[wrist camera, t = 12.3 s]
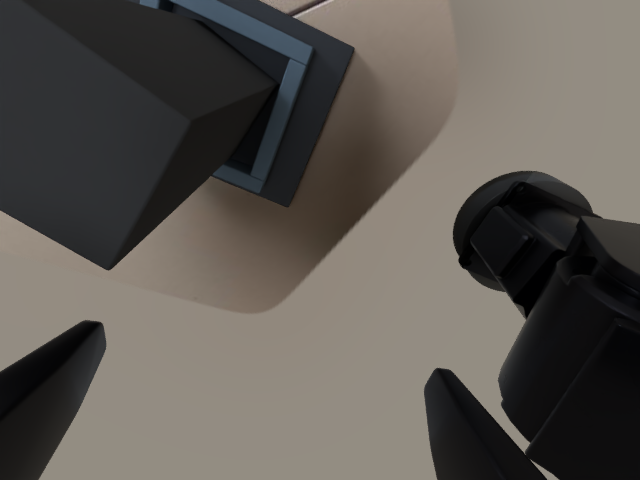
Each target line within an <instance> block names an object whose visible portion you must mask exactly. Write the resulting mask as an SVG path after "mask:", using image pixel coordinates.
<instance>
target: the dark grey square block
mask: <svg viewBox="0 0 640 480" xmlns="http://www.w3.org/2000/svg"><path fill="white" fill-rule="evenodd" d="M278 85H279V83H278V82H277V81H276V80H275V79H273V78H272V77H271V76H270V75H268V74H267V73H266V72H265V71H263V70H262V69H261V68H260V67H258V66H257V65H256V64H255V63H253V62H252V61H251V60H250V59H248V58H247V57H246V56H245V55H243V54H242V53H241V52H240V51H238V50H237V49H236V48H235V47H233V46H232V45H231V44H230V43H228V42H227V41H226V40H225V39H223V38H222V37H221V36H220V35H219V34H217V33H216V32H215V31H214V30H212V29H211V28H210V27H209V26H207V25H206V24H205V23H204V22H202V21H200V20H196V19H193V18H189V17H185V16H182V15H178V14H174V13H171V12H167V11H163V10H159V9H156V8H152V7H148V6H145V5H141V4H137V3H134V2H130V1H126V0H0V210H1V211H2V212H4V213H6V214H8V215H9V216H11V217H13V218H15V219H17V220H18V221H20V222H22V223H24V224H25V225H27V226H29V227H31V228H33V229H34V230H36V231H38V232H40V233H41V234H43V235H45V236H47V237H49V238H50V239H52V240H54V241H56V242H58V243H59V244H61V245H63V246H65V247H66V248H68V249H70V250H72V251H74V252H75V253H77V254H79V255H81V256H82V257H84V258H86V259H88V260H90V261H91V262H93V263H95V264H97V265H98V266H100V267H102V268H104V269H106V270H111V269H112V268H113V267H114V266H115V265H116V264H117V263H118V262H120V261H121V260H122V259H123V258H124V257H125V256H126V255H127V254H128V253H129V252H130V251H131V250H132V249H133V248H134V247H136V246H137V245H138V244H139V243H140V242H141V241H142V240H143V239H144V238H145V237H146V236H147V235H148V234H149V233H150V232H152V231H153V230H154V229H155V228H156V227H157V226H158V225H159V224H160V223H161V222H162V221H163V220H164V219H165V218H166V217H168V216H169V215H170V214H171V213H172V212H173V211H174V210H175V209H176V208H177V207H178V206H179V205H180V204H181V203H182V202H184V201H185V200H186V199H187V198H188V197H189V196H190V195H191V194H192V193H193V192H194V191H195V190H196V189H197V188H198V187H200V186H201V185H202V184H203V183H204V182H205V181H206V180H207V179H208V178H209V177H210V176H211V175H212V174H213V173H214V172H216V171H217V170H218V169H219V168H220V167H221V166H222V165H223V164H224V163H225V162H226V161H227V160H228V159H229V158H230V157H232V156H233V155H234V154H235V152H236V151H237V149H238V147H239V146H240V144H241V143H242V141H243V140H244V138H245V137H246V135H247V134H248V132H249V130H250V129H251V127H252V126H253V124H254V123H255V121H256V120H257V118H258V116H259V115H260V113H261V112H262V110H263V109H264V107H265V106H266V104H267V102H268V101H269V99H270V98H271V96H272V95H273V93H274V92H275V90H276V88H277V87H278Z"/></svg>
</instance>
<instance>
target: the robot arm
mask: <svg viewBox="0 0 640 480" xmlns="http://www.w3.org/2000/svg"><path fill="white" fill-rule="evenodd" d="M520 186H523V188H522V190H521V191H519V192H517V189H518V188H519V187H520ZM467 259H470V260H469V261H468V262H467V263H464V261H465V260H467ZM458 262H459V264H460V266H461V267H462V268H463V269H466V270H468V271H471V272H473V273H476V274H478V275H480V276H483V277H485V278H488V279H490V280H492V281H495V282H497V283H500V285H501V286H502V287H503V289H504V290H505V292H506V293H507V294H508V296H509V297H510V298H511V300H512V301H513V303H514V304H515V305H516V307H517V308H518V310H519V311H520V312H521V314H522V315H523V317H524V318H525V319H526V322H525V324H524V326H523V327H522V330H521V331H520V333H519V335H518V337H517V339H516V341H515V343H514V345H513V346H512V348H511V350H510V352H509V354H508V356H507V358H506V360H505V362H504V364H503V366H502V368H501V371H500V374H499V378H498V382H499V387H500V391H501V396H502V398H503V400H502V402H501V406H502V408H503V410H504V411H505V413H506V415H507V416H508V418H509V419H510V421H511V422H512V423H513V425H514V426H515V427H516V428H517V429H518V430H519V432H520V433H521V434H522V435H523V436H524V437H525V438H526V439H527V440H528V441H529V442H530V445H529V446H528V448H527V449H526V451H525V454H526V455H525V454H524V452H523V451H522V450H521V449H520V448H519V447H518V446H517V444H516V443H515V442H514V441H513V440H512V439H511V438H510V437H509V435H508V434H507V433H506V432H505V431H504V430H503V429H502V427H501V426H500V425H499V424H498V423H497V422H496V421H495V419H494V418H493V417H492V416H491V415H490V414H489V413H488V412H487V410H486V409H485V408H484V407H483V406H482V405H481V404H480V402H479V401H478V400H477V399H476V398H475V397H474V396H473V395H472V393H471V392H470V391H469V390H468V389H467V388H466V387H465V385H464V384H463V383H462V382H461V381H460V380H459V379H458V377H457V376H456V375H454V373H453V372H452V371H451V370H449V369H441V368H436V369H435V370H434V371H433V373H432V374H431V376H430V378H429V380H428V381H427V383H426V385H425V388H424V396H425V405H426V413H427V423H428V431H429V440H430V446H431V452H432V458H433V462H434V467H435V471H436V476H437V480H547V479H546V478H545V476H544V475H543V474H542V473H541V472H540V471H539V470H538V468H537V467H536V466H535V465H534V464H533V463H532V462H531V460H532V461H533V462H535V463H537V464H538V465H540V466H541V467H543V468H544V469H546V470H547V471H549V472H550V473H552V474H553V475H554V476H555V477H557V478H558V479H559V480H640V224H636V223H629V222H622V221H615V220H608V219H603V218H602V217H600V216H598V215H596V214H594V213H592V212H590V211H588V210H586V209H584V208H582V207H579V206H577V205H575V204H573V203H571V202H569V201H567V200H565V199H562V198H560V197H558V196H556V195H554V194H552V193H550V192H547V191H545V190H543V189H541V188H539V187H537V186H535V185H533V184H530V183H528V182H526V181H524V180H517V181H515V182H513V183H512V184H511V186H510V187H509V188H508V190H507V191H506V193H505V194H504V195H503V197H502V198H501V200H500V201H499V202H498V204H497V205H496V206H495V207H494V208H492V209H491V211H490V212H489V213H488V215H487V216H486V218H485V219H484V220H483V222H482V223H481V224H480V226H479V227H478V229H477V230H476V231H475V233H474V234H473V236H472V237H471V239H470V243H469V244H468V245H467V247H466V248H465V250H464V251H463V252H462V254H461V255H460V257H459V259H458ZM105 350H106V338H105V332H104V326H103V324H102V323H101V322H97V321H90V320H85V321H82V322H80V323H79V324H77V325H75V326H74V327H72V328H70V329H69V330H67V331H65V332H64V333H62V334H61V335H59V336H58V337H56V338H54V339H52V340H51V341H49V342H48V343H46V344H44V345H43V346H41V347H40V348H38V349H36V350H35V351H33V352H31V353H30V354H28V355H27V356H25V357H23V358H22V359H20V360H18V361H17V362H15V363H14V364H12V365H10V366H9V367H7V368H5V369H4V370H2V371H1V372H0V480H38V479H39V478H40V476H41V474H42V473H43V471H44V469H45V468H46V466H47V464H48V462H49V460H50V459H51V457H52V456H53V454H54V452H55V450H56V449H57V447H58V445H59V444H60V442H61V440H62V438H63V437H64V435H65V433H66V431H67V430H68V428H69V426H70V425H71V423H72V421H73V419H74V418H75V416H76V414H77V412H78V410H79V408H80V406H81V404H82V402H83V400H84V397H85V395H86V393H87V391H88V388H89V386H90V384H91V382H92V379H93V377H94V375H95V373H96V371H97V368H98V366H99V364H100V362H101V359H102V357H103V355H104V352H105Z"/></svg>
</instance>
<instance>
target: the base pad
mask: <svg viewBox="0 0 640 480" xmlns="http://www.w3.org/2000/svg"><path fill="white" fill-rule="evenodd" d="M126 1H130V2H134V3H137V4H141V5H145V6H148V7H152V8H156V9H159V10H163V11H167V12H171V13H174V14H178V15H182V16H185V17H189V18H193V19H196V20H200V21H202V22H204V23H205V24H206V25H207V26H209V27H210V28H211V29H212V30H214V31H215V32H216V33H217V34H219V35H220V36H221V37H222V38H223V39H225V40H226V41H227V42H228V43H230V44H231V45H232V46H233V47H235V48H236V49H237V50H238V51H240V52H241V53H242V54H243V55H245V56H246V57H247V58H248V59H250V60H251V61H252V62H253V63H255V64H256V65H257V66H258V67H260V68H261V69H262V70H263V71H265V72H266V73H267V74H268V75H270V76H271V77H272V78H273V79H275V80H276V81H277V82H278V83H279V85H278V87H277V88H276V90H275V92H274V93H273V95H272V96H271V98H270V99H269V101H268V102H267V104H266V106H265V107H264V109H263V110H262V112H261V113H260V115H259V116H258V118H257V120H256V121H255V123H254V124H253V126H252V127H251V129H250V130H249V132H248V134H247V135H246V137H245V138H244V140H243V141H242V143H241V144H240V146H239V147H238V149H237V151H236V152H235V154H234V155H233V156H232V157H230V158H229V159H228V160H227V161H226V162H225V163H224V164H223V165H222V166H221V167H220V168H219V169H218V170H217V171H216V172H214V173H213V174H212V175H211V176H212V177H214V178H217V179H219V180H222V181H224V182H227V183H229V184H231V185H234V186H236V187H239V188H241V189H244V190H246V191H249V192H251V193H253V194H256V195H258V196H261V197H263V198H266V199H268V200H271V201H273V202H275V203H278V204H280V205H283V206H285V207H289V205H290V203H291V201H292V198H293V196H294V193H295V191H296V189H297V186H298V184H299V181H300V179H301V177H302V174H303V172H304V169H305V167H306V165H307V162H308V160H309V157H310V155H311V153H312V150H313V148H314V145H315V143H316V141H317V138H318V136H319V133H320V131H321V129H322V126H323V124H324V121H325V119H326V117H327V114H328V112H329V109H330V107H331V105H332V102H333V100H334V97H335V95H336V93H337V90H338V88H339V85H340V83H341V81H342V78H343V76H344V73H345V71H346V69H347V66H348V64H349V61H350V59H351V56H352V54H353V52H354V47H352V46H350V45H348V44H346V43H344V42H342V41H340V40H338V39H336V38H334V37H332V36H330V35H328V34H326V33H324V32H322V31H320V30H318V29H315V28H313V27H311V26H309V25H307V24H305V23H303V22H301V21H299V20H297V19H295V18H293V17H291V16H289V15H287V14H285V13H283V12H281V11H279V10H277V9H275V8H273V7H271V6H269V5H267V4H265V3H263V2H261V1H259V0H126Z"/></svg>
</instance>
